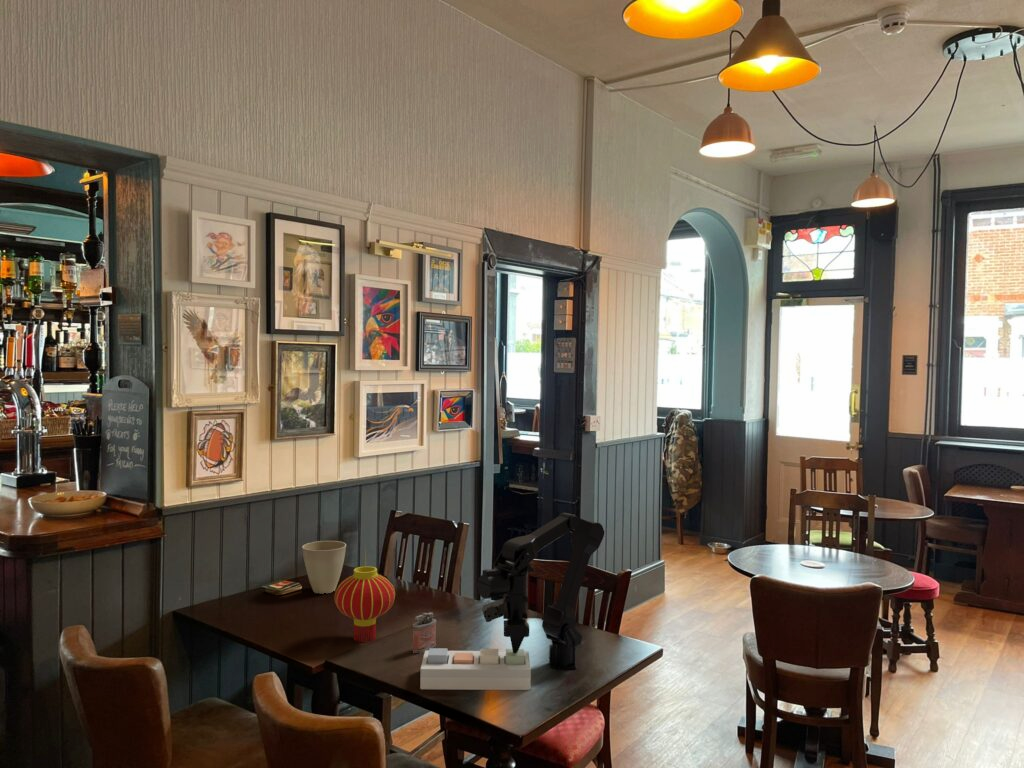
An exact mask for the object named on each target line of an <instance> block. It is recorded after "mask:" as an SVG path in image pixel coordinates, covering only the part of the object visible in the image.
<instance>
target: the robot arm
mask: <svg viewBox="0 0 1024 768" xmlns="http://www.w3.org/2000/svg"><path fill="white" fill-rule="evenodd" d="M569 532H570V533H571V538H570V542H571V545H572V551H571V552H572V553H571V555H570V558H569V561H568V565H567V567H566V570H565V574H564V577H563V580H562V583H561V586H560V589H559V593H558V596H557V599H556V601H555V602H554V603H553V604H552V605H549V604H548V605H546V607H545V610H544V614H543V617H542V618H541V621H542V623H541V628H542V629H543V631H544V634H545V636H546V639H547V640H550V641H551V644H549V645H548V662H549V664H550V666H551V669H563V670H565V669H570V670H572V669H573V670H575V669H577V665H576V664H577V663H576V652H577V651H576V650H577V649H576V648H577V646H579V645H581V644H582V640H583V635H581V633H580V632H579V631H578V630H577V629H576V623H577V616H576V612H575V611H576V610H575V606H576V604H577V603H576V602H577V600H578V596H579V593H580V590H581V587H582V584H583V581H584V578H585V575H586V571H587V568H588V565H589V562H590V558H591V556H592V555H593V554H594V553H595V552H596V551H598V549H599V548H600V547H601V544H602V541H603V540H604V537H605V530H604V526H603V525H602V524H601V523H599V522H596V521H593V520H588V519H584V518H580V517H579V516H577V515H576V514H571V513H567V512H562V513H559V515H557V517H555V518H553V519H552V520H551V521H548V522H547V523H546V524H544V525H542V526H541V527H539V528H537V529H536V530H534V531H532V532H531V533H529V534H527V535H521V536H516V537H513V538H511V539H509V540H507V541H505V542H504V543H503V545H502V548H501V550H500V551H499V554H498V556H497V557H496V559H495V561H494V562H493V565H492V568H491V569H483V570H482V573H481V574H482V575H480V576H479V577H478V580H477V582H476V587H477V591H478V594H479V595H480V597H481V598H482V599H490V598H495V597H499V596H503V598H501V599H497V600H494V601H491V602H488V603H485V604H484V605H482V607H481V610H482V614H483V618H484V620H485V622H486V623H490V622H492V621H493V620H496V619H499V618H502V617H503V619H504V620H503V637H505V638H509V640H510V644H511V649H512V650H513V653H517V652H518V650H519V649H521V648H520V647H521V646H522V643H523V640H524V639H525V638H528V637H530V624H529V623H528V621H527V620H526V619H528V599H529V597H528V574H530V573H534V572H535V568H533V566H531V565H530V563H532V562H533V561H534V560H535V559H536V558H537V556H538V554H539V552H540V551H541V550H542V549H543V548H545V547H547V546H549V545H550V544H552V543H553V542H555V541H556V540H558V539H559V538H561V537H563V536H565V535H566V534H567V533H569ZM508 563H509V564H508ZM510 564H511V565H510Z"/></svg>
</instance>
